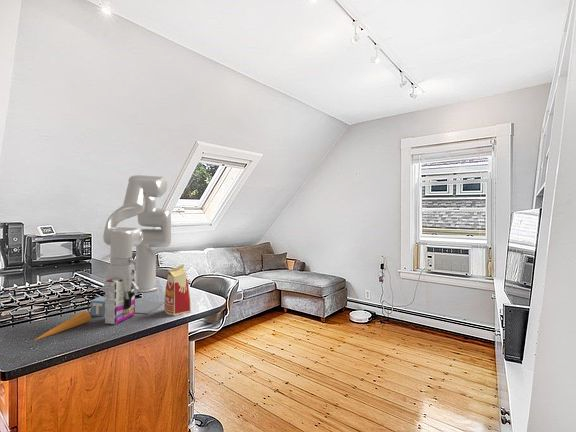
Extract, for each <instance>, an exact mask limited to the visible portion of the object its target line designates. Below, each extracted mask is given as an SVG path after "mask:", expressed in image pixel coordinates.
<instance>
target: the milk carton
mask: <svg viewBox="0 0 576 432" xmlns="http://www.w3.org/2000/svg"><path fill="white" fill-rule="evenodd" d="M184 266H185V264H184V263H183V264H181V265H178V266H176V267H173V268H170V269H168V270H167V271H168V273H167V278H166V283H165V284H166V285H165V294H164V301H163V302H164V304H163V308H164V309H163V310H164V312H165V313H166V315H169V316H180V315H183V314H184V313H185V314H189V313H188V312H190V313H191V312H192V310H191V308H192V306H191V300H192V299H191V291H190V285H189V280H188V277H187V273H186V269H185V267H184ZM179 314H180V315H179ZM185 314H184V315H185Z"/></svg>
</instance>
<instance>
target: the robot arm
mask: <svg viewBox="0 0 576 432" xmlns="http://www.w3.org/2000/svg"><path fill="white" fill-rule="evenodd" d="M167 189H168V181H167V179H166V178H165V177H164V176H156V175H154V176H153V175H141V174H140V175H139V174H138V175H131V176H129V178H128V183H127V186H126V191H125V195H124V200H123V204H122V205H121V206H120V207H118V208H117V209H116V210H114V211H113V212H112V213H111V214H110V216H108V218H107V220H106V224H105V226H104V230H103V237H102V238H103V239H102V240H103V242H104V243H105V245H107V246H110V248H109V249H110V251H109V252H110V253H109V254H110V257H109V263H110V264H108V267H107V271H106V279H105V281H107V280H110V279H120V280H122V286H123V292H124V293H125V296H126V299H125V301H124V309H125V310H127V309H129V308H130V307H131V298H132V297H133V296H134V295H135V296H136V294H137V293H148V292H154V291H157V290H159V287H160V286H159V285H158V284H156V283H157V282H158V281H159V278H156V276H157V275H156V273H157V255H156V252H155V251H154V249H153V248H168V247H169V246H170V245H171V242H172V214H171V213H170V210H168V209H166V208H156V198H162V196H163V195H164V194H165V193H167ZM133 217H137V223H138V225H139V226H141V227H148V228H141V229H140V228H138V227H118V225H119V224H120V223H121V222H123V221H124V220H128V219H130V218H133ZM149 227H150V228H149ZM133 247H135V251H136V253H135V255H136V256H135V257H136V258H135V259H136V260H135V259H133ZM134 263H135V264H134ZM131 289H134V291H133V292H132V290H131ZM101 290H102V291H103V292H104V293H105V283H104V284H103V285H102V287H101Z"/></svg>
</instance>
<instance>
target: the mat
mask: <svg viewBox="0 0 576 432" xmlns="http://www.w3.org/2000/svg"><path fill="white" fill-rule="evenodd" d="M161 306H164V301H149V300H143V301H141V302H139V303H137V304H135V314H140V315H149V314H150V313H151V312H153V311H155V310H156V309H158V308H159V307H161Z"/></svg>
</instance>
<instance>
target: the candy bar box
mask: <svg viewBox="0 0 576 432" xmlns="http://www.w3.org/2000/svg"><path fill="white" fill-rule="evenodd" d="M104 284H105V292H104V297H105V316H104V324H107V325H113V324H114V326H115V325H118V324H121V323H122V322H123V321H126V320H128V319H129V318H131V317H134V316H135V315H136V313H135V305H136V294H135V295H134V296H133V297H132V298H131V307H130V308H129V309H127V310H125V309H124V301H125V299H126V296H125V293H124V292H123V286H122V280H120V279H110V280H107V281H106V280H105V281H104ZM131 290H132V292H133V291H134V289H131Z"/></svg>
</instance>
